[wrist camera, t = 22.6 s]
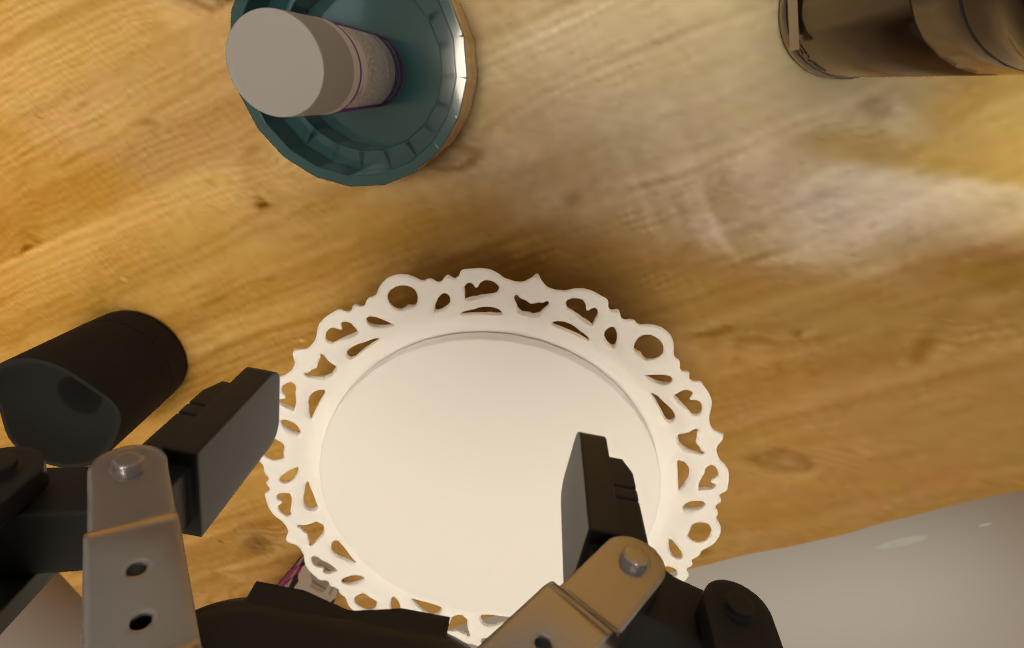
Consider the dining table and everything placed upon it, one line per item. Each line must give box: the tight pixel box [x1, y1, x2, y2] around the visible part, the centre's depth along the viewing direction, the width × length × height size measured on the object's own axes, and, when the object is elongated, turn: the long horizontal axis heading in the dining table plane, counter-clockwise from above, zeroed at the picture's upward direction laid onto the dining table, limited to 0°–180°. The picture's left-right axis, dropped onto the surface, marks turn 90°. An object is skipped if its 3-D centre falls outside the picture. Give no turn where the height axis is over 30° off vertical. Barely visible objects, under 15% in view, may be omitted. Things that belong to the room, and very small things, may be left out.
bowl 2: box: [260, 268, 729, 646], centre depth 43 cm, size 32×32×13 cm
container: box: [226, 8, 405, 117], centre depth 32 cm, size 5×5×15 cm
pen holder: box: [0, 311, 186, 467], centre depth 45 cm, size 9×9×10 cm
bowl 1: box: [230, 0, 477, 187], centre depth 36 cm, size 14×14×6 cm
